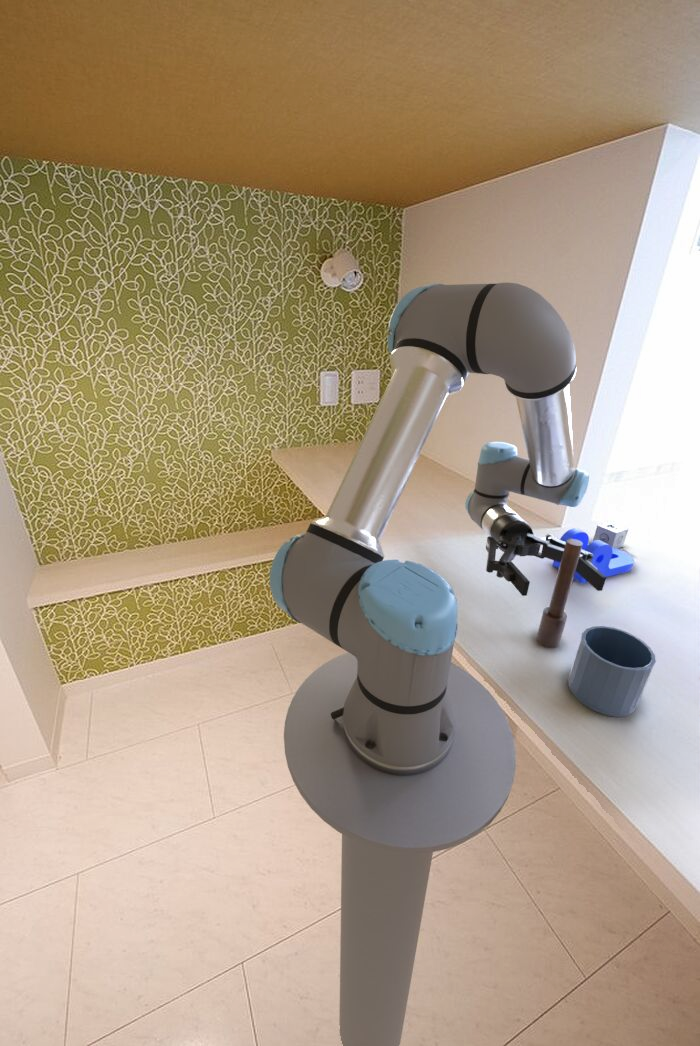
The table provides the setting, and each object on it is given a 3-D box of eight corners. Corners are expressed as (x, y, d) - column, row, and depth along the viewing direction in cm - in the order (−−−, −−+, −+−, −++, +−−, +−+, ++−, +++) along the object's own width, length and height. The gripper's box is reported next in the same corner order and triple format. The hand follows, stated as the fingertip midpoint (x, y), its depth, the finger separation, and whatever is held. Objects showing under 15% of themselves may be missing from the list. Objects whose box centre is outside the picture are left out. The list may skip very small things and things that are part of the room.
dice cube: (604, 538, 114) (609, 521, 112) (622, 546, 110) (628, 528, 108) (592, 542, 112) (597, 525, 110) (610, 550, 108) (616, 533, 106)
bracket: (581, 583, 95) (592, 547, 91) (552, 564, 102) (561, 530, 98) (639, 568, 101) (651, 534, 97) (608, 552, 108) (619, 519, 104)
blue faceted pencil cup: (591, 719, 62) (609, 672, 59) (556, 671, 71) (569, 627, 67) (651, 714, 64) (671, 667, 60) (609, 667, 72) (624, 623, 68)
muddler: (543, 648, 76) (570, 548, 67) (532, 634, 79) (556, 537, 71) (563, 647, 76) (593, 547, 68) (552, 632, 80) (578, 536, 71)
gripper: (558, 542, 94) (626, 600, 75) (447, 548, 91) (489, 609, 72) (566, 511, 91) (639, 563, 72) (452, 516, 88) (497, 571, 69)
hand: (564, 586), depth 72 cm, fingers open, 13 cm apart
